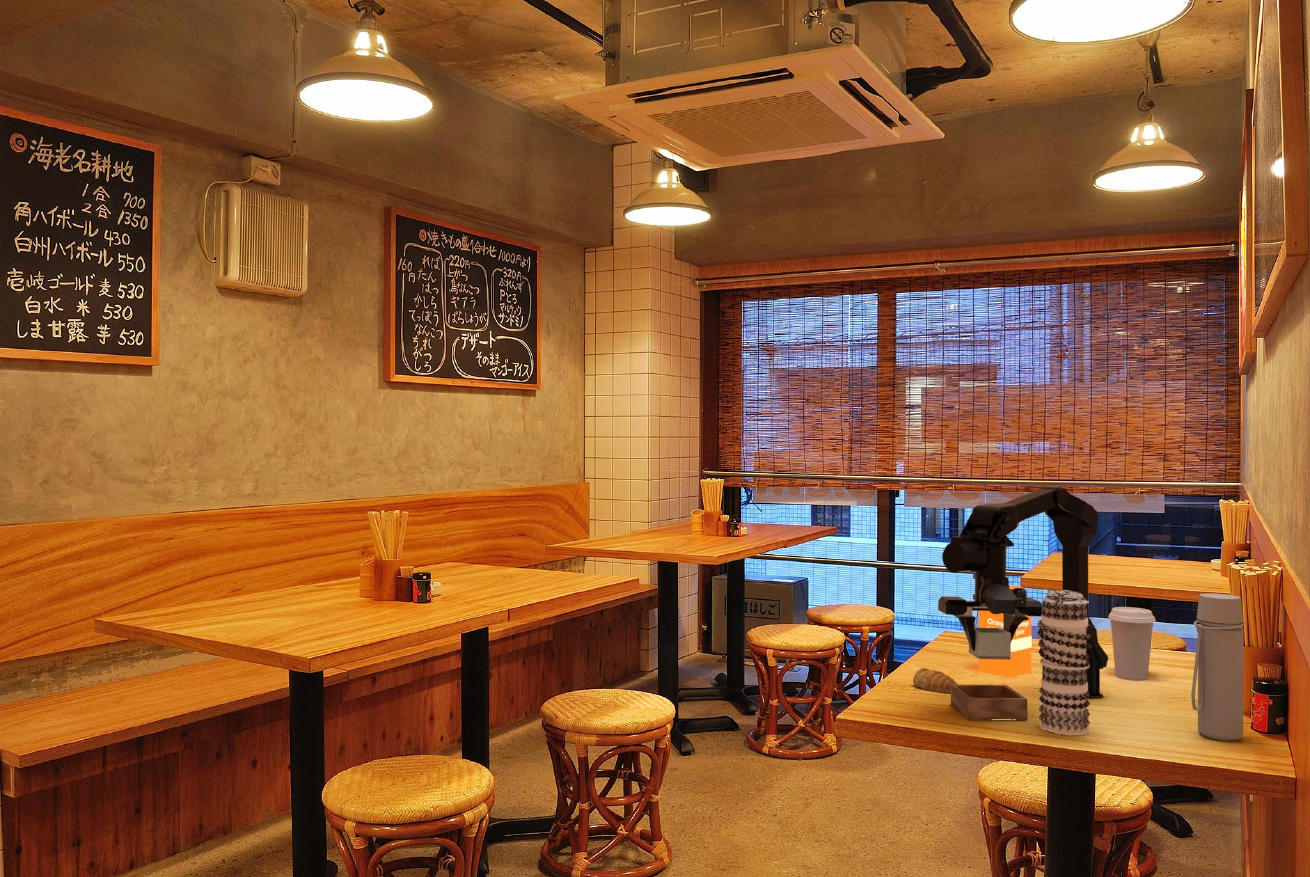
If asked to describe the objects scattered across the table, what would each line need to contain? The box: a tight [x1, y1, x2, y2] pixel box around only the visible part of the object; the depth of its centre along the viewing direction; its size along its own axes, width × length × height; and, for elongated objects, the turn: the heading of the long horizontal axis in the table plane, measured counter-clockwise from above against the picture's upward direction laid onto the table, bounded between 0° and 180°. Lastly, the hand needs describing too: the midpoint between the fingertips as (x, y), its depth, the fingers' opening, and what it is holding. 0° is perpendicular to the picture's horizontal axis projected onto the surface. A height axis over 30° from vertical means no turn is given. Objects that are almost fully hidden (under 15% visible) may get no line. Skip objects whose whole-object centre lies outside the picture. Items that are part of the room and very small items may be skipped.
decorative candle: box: [1036, 589, 1093, 736], centre depth 177 cm, size 9×9×25 cm
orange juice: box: [978, 584, 1033, 678], centre depth 221 cm, size 8×9×20 cm
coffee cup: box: [1108, 606, 1157, 681], centre depth 217 cm, size 10×10×15 cm
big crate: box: [950, 684, 1028, 721], centre depth 188 cm, size 11×11×4 cm
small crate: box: [968, 626, 1011, 660], centre depth 188 cm, size 6×6×5 cm
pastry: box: [912, 667, 959, 694], centre depth 206 cm, size 9×7×4 cm
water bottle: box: [1190, 592, 1246, 742], centre depth 173 cm, size 9×8×25 cm
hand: (989, 650), depth 188 cm, fingers closed on small crate, 6 cm apart
